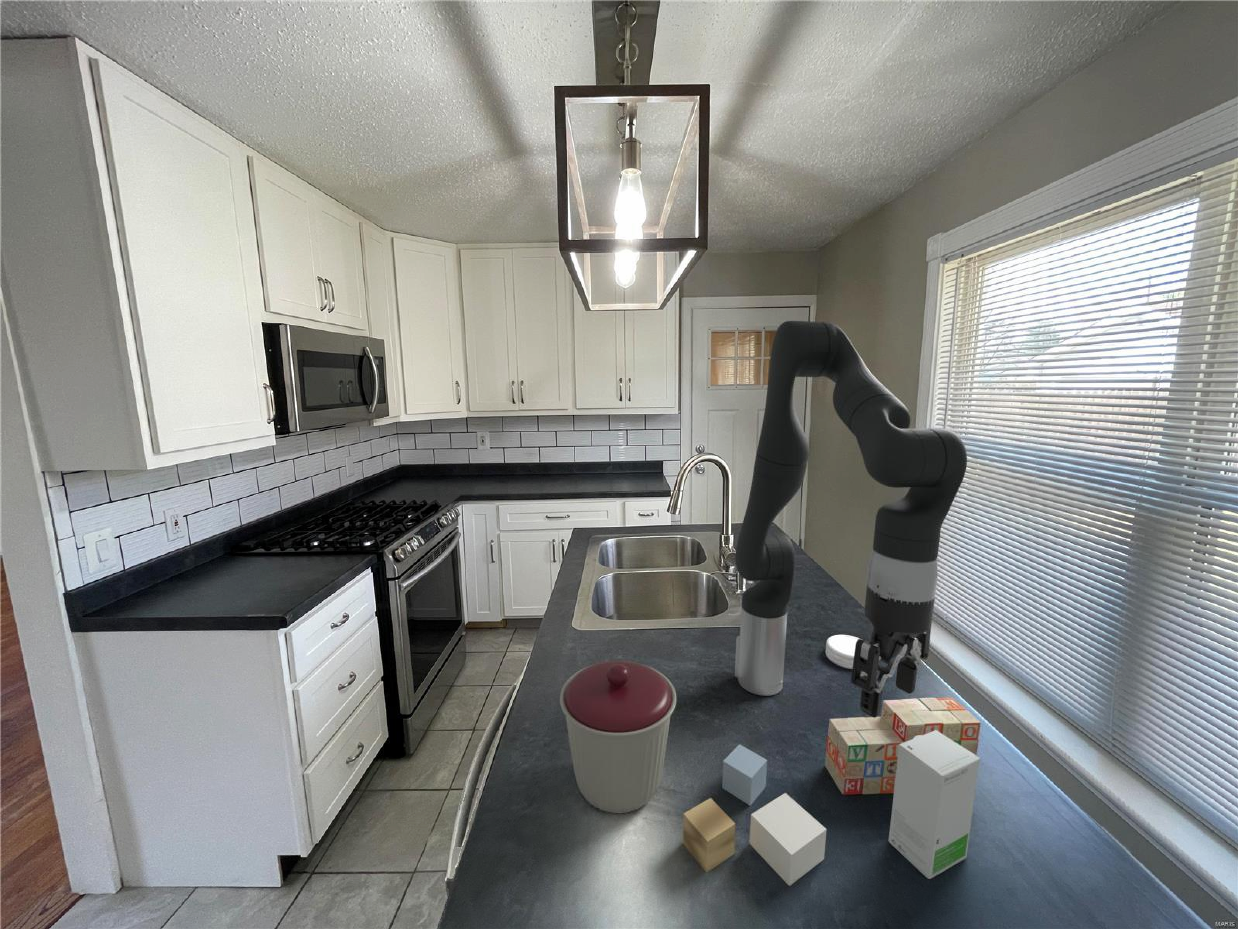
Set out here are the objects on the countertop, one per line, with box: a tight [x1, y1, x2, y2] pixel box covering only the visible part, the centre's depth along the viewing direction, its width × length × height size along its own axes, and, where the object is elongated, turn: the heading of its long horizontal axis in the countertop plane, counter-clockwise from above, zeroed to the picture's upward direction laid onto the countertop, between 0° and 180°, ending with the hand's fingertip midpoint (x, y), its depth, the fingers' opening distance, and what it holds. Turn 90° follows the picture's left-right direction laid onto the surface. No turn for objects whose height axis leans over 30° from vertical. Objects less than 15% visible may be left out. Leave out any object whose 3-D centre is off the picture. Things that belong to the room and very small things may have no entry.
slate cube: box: [721, 744, 768, 807], centre depth 80 cm, size 5×5×5 cm
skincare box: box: [887, 730, 981, 880], centre depth 69 cm, size 8×7×16 cm
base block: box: [749, 792, 827, 887], centre depth 69 cm, size 7×7×5 cm
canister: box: [559, 659, 677, 814], centre depth 79 cm, size 18×18×21 cm
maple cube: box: [682, 797, 736, 873], centre depth 70 cm, size 5×5×5 cm
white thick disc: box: [825, 634, 863, 670], centre depth 117 cm, size 10×10×4 cm
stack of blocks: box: [824, 697, 982, 796], centre depth 81 cm, size 21×6×12 cm, turn 94°
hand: (887, 701), depth 66 cm, fingers open, 8 cm apart
